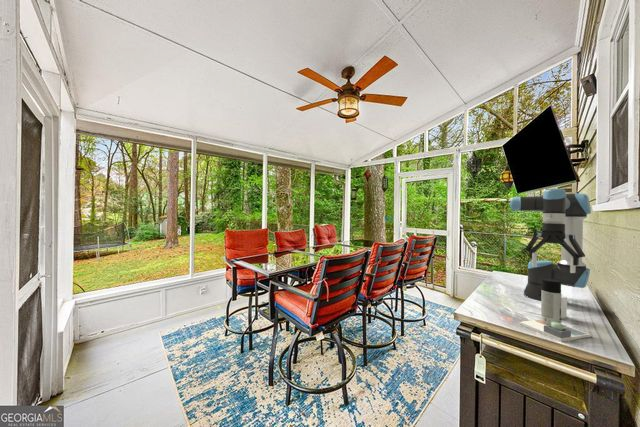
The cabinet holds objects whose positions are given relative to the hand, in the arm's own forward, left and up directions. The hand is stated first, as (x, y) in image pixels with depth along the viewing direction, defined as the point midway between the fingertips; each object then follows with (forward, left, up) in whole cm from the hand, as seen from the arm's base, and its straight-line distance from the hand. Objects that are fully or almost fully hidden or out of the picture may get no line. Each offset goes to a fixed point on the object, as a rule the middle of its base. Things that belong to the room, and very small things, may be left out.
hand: (552, 269), depth 111 cm
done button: (+8, +7, -24) cm, 26 cm away
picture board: (+2, +2, -27) cm, 27 cm away
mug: (-17, -9, -27) cm, 33 cm away
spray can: (-2, -1, -26) cm, 26 cm away
